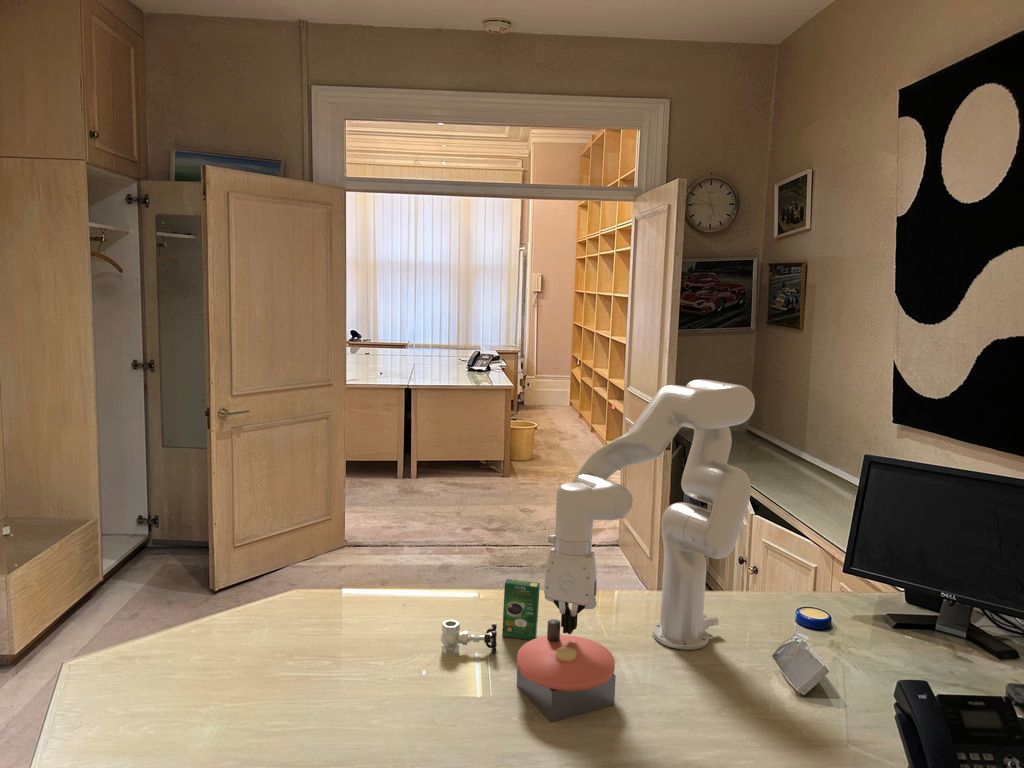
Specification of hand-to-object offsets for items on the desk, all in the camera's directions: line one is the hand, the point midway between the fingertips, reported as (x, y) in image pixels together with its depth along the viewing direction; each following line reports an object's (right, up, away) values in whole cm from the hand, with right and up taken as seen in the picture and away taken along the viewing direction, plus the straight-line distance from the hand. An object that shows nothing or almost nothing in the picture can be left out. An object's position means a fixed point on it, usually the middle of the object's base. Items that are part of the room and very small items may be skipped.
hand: (568, 631), depth 151 cm
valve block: (-1, -11, -6) cm, 12 cm away
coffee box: (-10, -7, +18) cm, 21 cm away
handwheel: (-1, -4, -7) cm, 8 cm away
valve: (-21, -8, +10) cm, 25 cm away
